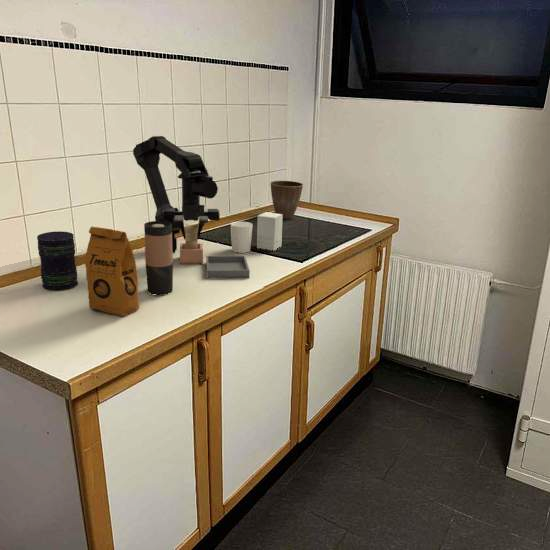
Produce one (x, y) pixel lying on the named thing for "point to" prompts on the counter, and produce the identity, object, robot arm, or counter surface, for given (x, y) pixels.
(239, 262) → the charcoal tray
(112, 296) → the coffee package
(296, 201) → the plant pot
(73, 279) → the storage jar
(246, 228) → the white cup
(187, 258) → the pink open box
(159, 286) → the travel mug
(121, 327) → the counter surface
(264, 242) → the supplement box
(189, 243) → the wooden peg
